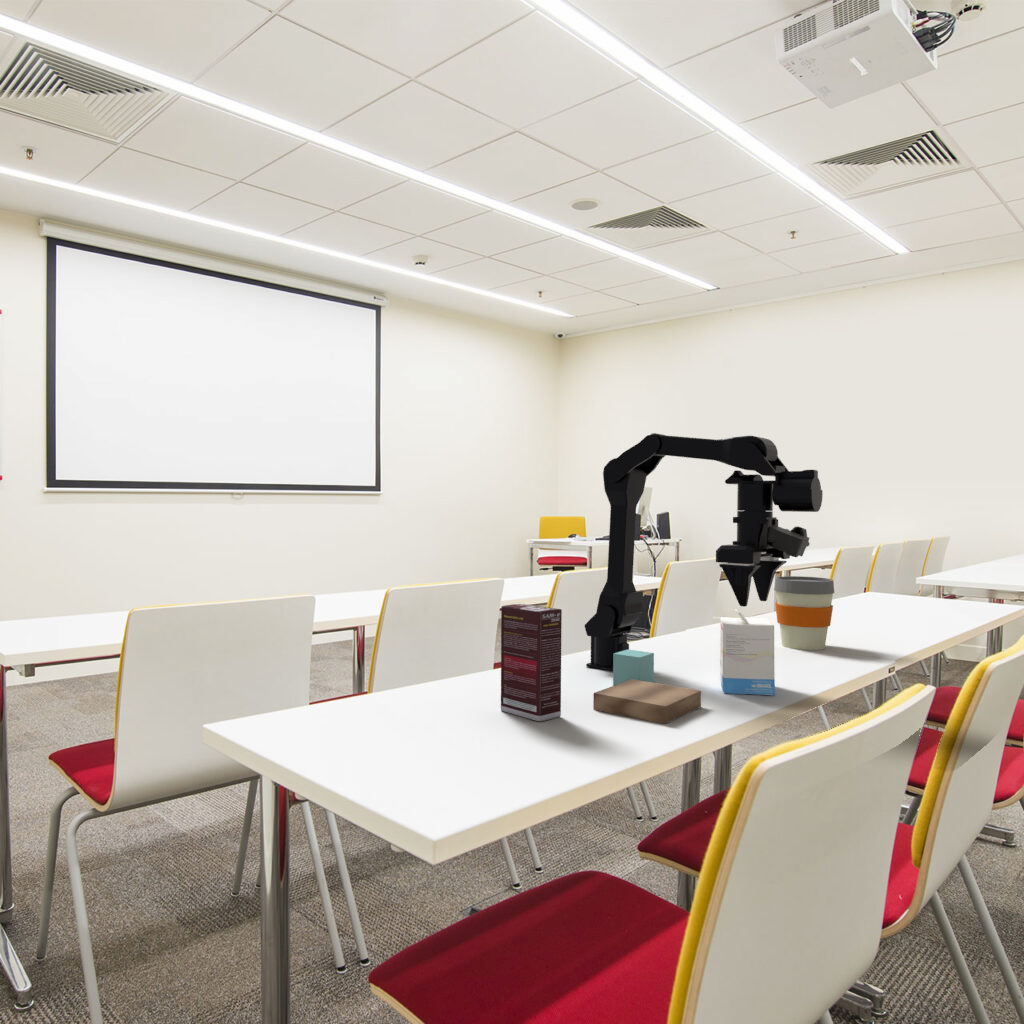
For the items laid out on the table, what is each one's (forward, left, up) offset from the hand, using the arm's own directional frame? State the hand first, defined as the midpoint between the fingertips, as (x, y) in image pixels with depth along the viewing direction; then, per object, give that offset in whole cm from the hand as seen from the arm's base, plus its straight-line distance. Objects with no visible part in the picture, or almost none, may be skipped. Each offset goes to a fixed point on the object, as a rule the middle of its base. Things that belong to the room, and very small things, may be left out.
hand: (753, 603), depth 130 cm
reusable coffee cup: (-6, +47, -15) cm, 50 cm away
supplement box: (-20, -36, -15) cm, 44 cm away
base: (-8, -22, -15) cm, 28 cm away
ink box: (-1, 0, -15) cm, 15 cm away
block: (-16, -12, -15) cm, 25 cm away
